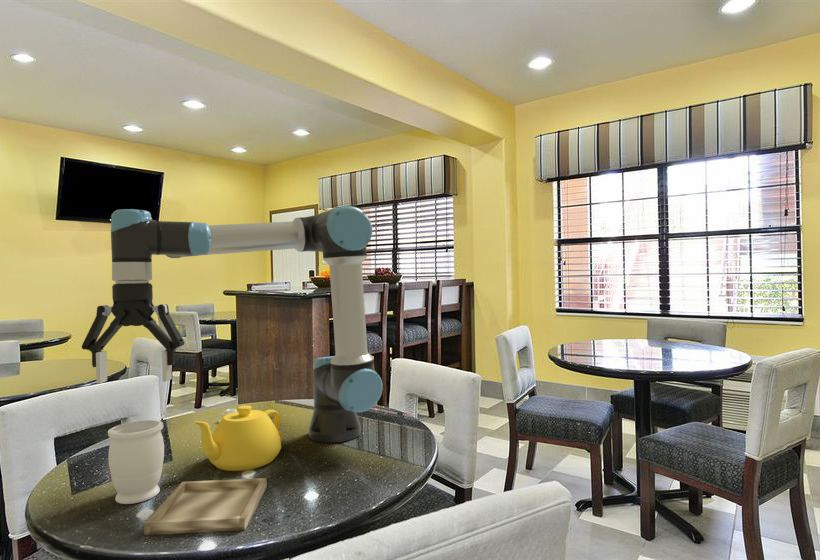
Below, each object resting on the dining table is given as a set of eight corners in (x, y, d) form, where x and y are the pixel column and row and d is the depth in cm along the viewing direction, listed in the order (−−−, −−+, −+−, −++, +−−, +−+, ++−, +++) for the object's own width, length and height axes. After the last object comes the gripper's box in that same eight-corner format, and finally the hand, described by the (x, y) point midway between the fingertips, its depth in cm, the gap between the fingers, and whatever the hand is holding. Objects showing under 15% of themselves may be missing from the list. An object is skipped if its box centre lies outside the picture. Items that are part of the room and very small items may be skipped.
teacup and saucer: (251, 419, 163) (251, 406, 163) (238, 426, 156) (237, 413, 155) (228, 417, 165) (227, 405, 165) (213, 425, 158) (213, 412, 157)
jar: (140, 509, 100) (139, 435, 100) (97, 505, 102) (95, 433, 102) (175, 487, 110) (174, 420, 110) (135, 483, 112) (133, 418, 112)
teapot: (214, 487, 110) (213, 426, 110) (175, 469, 121) (174, 413, 121) (303, 454, 129) (302, 402, 129) (262, 440, 140) (261, 393, 140)
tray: (266, 487, 109) (266, 478, 109) (244, 530, 91) (244, 518, 91) (182, 491, 108) (182, 481, 108) (143, 535, 90) (143, 523, 90)
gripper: (198, 281, 110) (200, 375, 110) (82, 283, 109) (84, 379, 109) (185, 281, 103) (187, 383, 103) (60, 283, 101) (63, 386, 101)
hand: (134, 381), depth 106 cm, fingers open, 13 cm apart
